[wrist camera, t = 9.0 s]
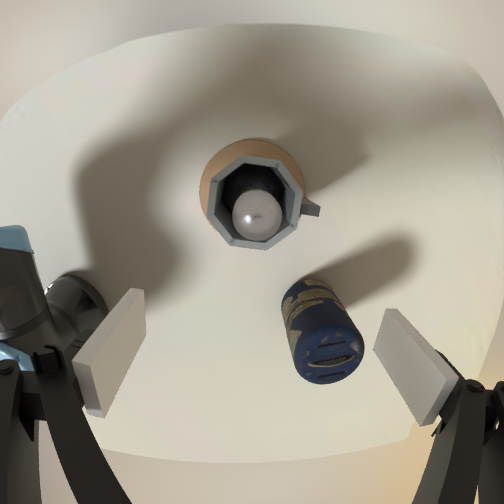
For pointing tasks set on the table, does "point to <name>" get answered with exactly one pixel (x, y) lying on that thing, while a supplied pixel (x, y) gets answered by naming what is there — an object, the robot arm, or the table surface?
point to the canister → (320, 333)
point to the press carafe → (260, 160)
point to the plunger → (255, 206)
